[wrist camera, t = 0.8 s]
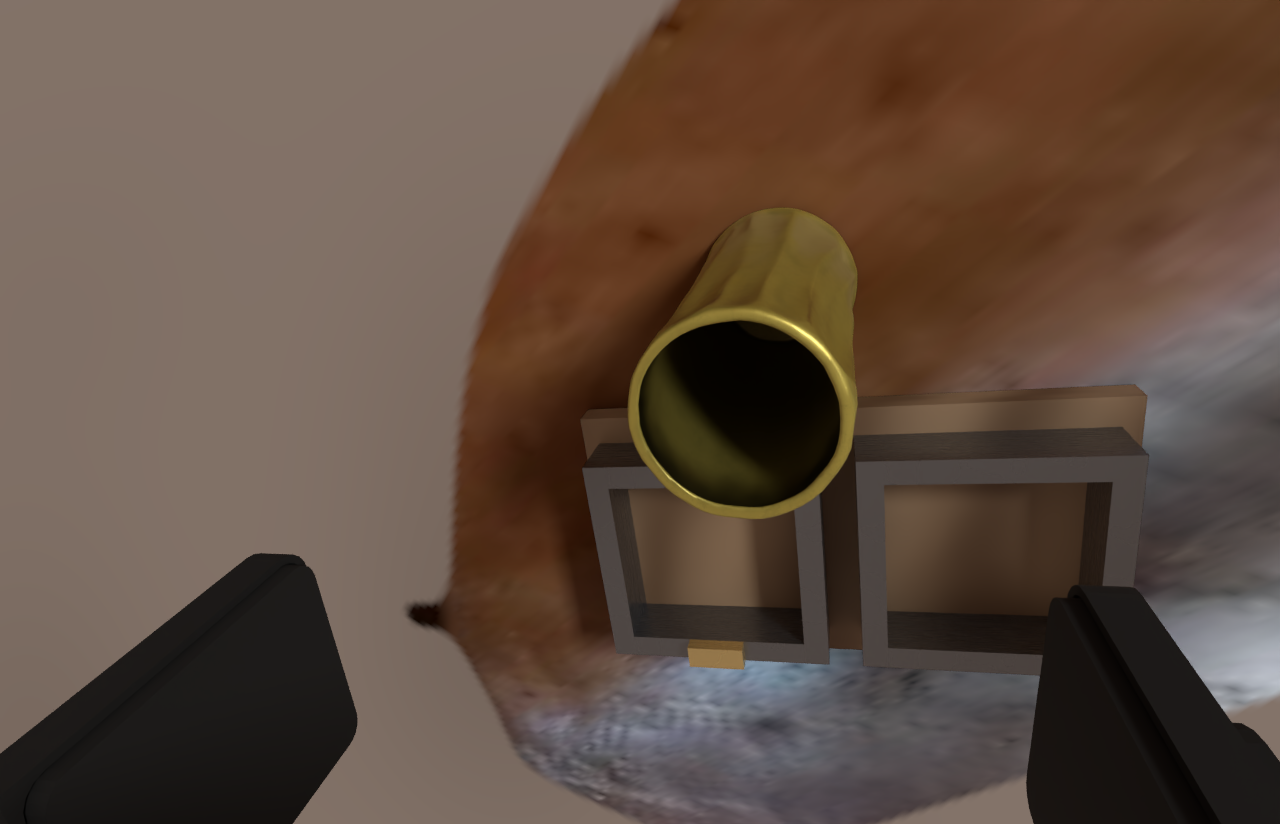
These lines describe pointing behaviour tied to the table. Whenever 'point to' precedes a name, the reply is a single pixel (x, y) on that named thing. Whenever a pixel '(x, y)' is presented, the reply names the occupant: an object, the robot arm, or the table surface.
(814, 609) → the two-cubby wall shelf
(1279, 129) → the table surface
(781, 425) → the vase
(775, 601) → the board
